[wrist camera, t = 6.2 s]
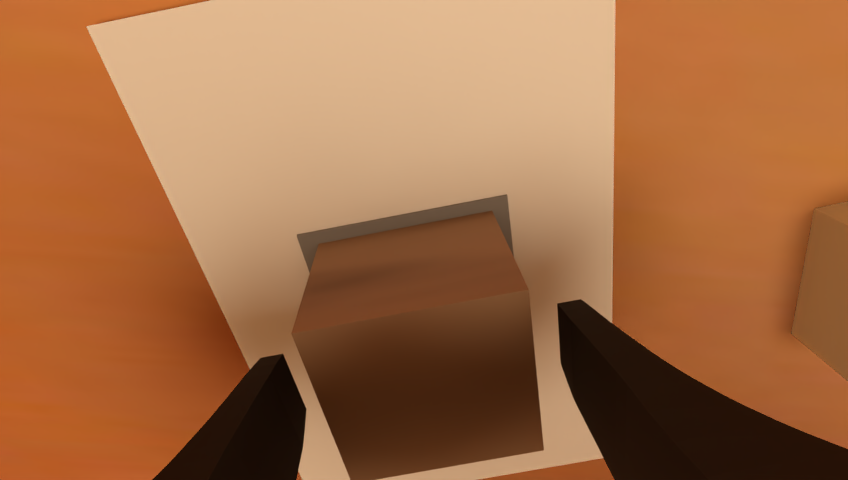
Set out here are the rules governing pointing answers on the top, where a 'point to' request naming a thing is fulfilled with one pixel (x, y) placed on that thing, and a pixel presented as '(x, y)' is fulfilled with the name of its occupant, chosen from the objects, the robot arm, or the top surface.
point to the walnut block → (421, 347)
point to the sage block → (825, 289)
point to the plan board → (381, 158)
